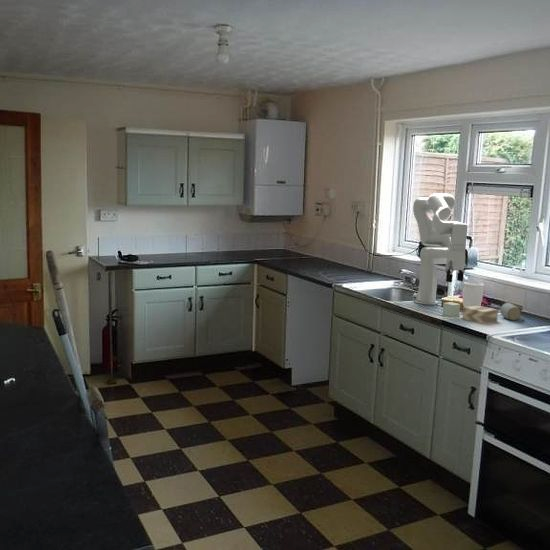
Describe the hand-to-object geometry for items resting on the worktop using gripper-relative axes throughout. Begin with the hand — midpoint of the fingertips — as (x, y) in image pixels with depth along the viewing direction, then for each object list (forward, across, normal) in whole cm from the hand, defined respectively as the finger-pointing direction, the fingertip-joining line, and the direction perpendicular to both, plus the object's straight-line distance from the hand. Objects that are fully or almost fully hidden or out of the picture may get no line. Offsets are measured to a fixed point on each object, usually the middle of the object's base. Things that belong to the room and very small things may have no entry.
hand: (454, 281), depth 316 cm
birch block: (+18, -4, +14) cm, 23 cm away
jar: (+18, -20, -1) cm, 27 cm away
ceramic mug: (+18, -23, +21) cm, 36 cm away
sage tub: (+18, 0, 0) cm, 18 cm away
